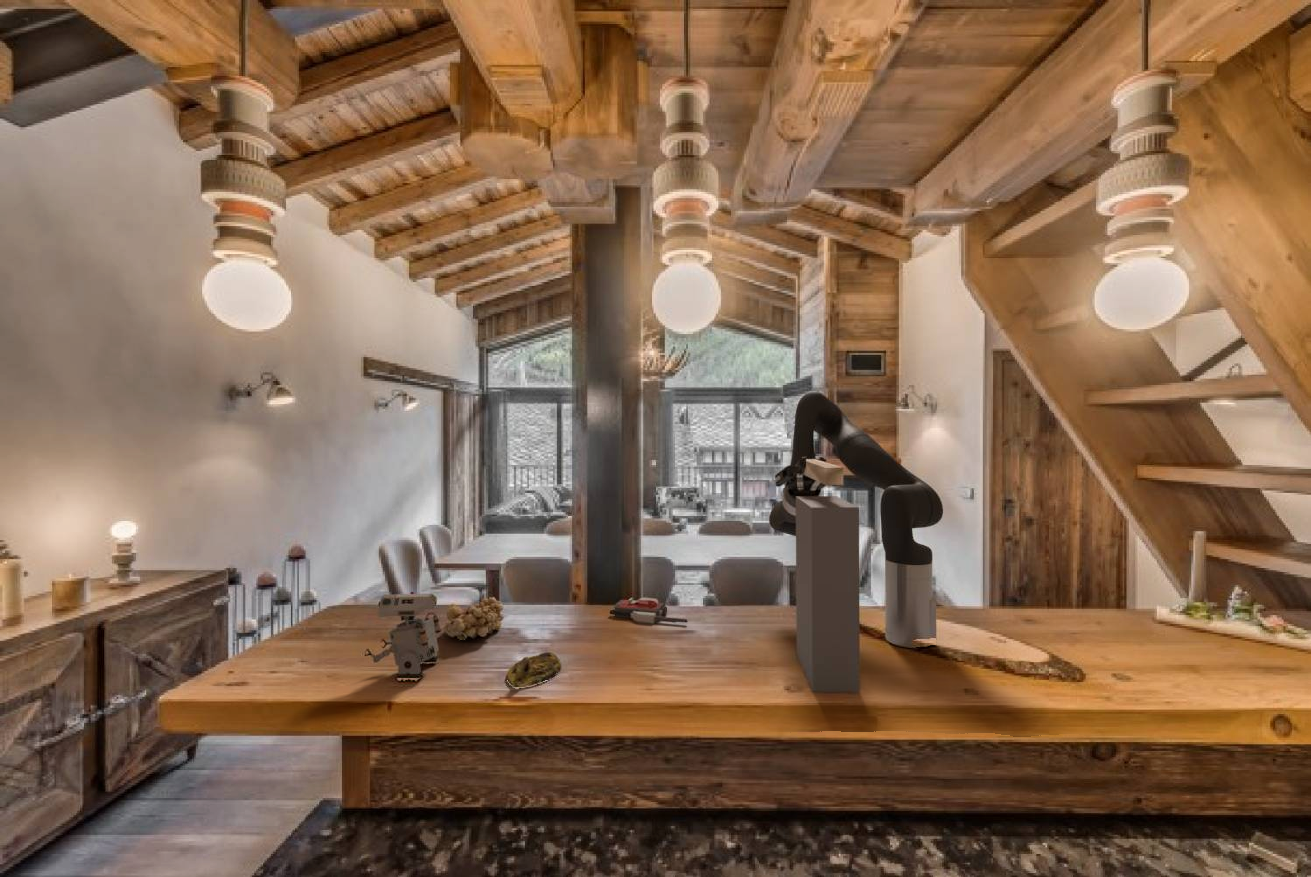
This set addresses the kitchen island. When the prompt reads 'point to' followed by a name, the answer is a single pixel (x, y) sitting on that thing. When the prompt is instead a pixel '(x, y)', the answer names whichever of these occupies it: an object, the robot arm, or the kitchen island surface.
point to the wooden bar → (824, 472)
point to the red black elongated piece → (643, 611)
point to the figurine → (410, 632)
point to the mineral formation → (474, 619)
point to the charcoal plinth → (828, 593)
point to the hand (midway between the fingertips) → (813, 461)
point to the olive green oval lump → (533, 670)
